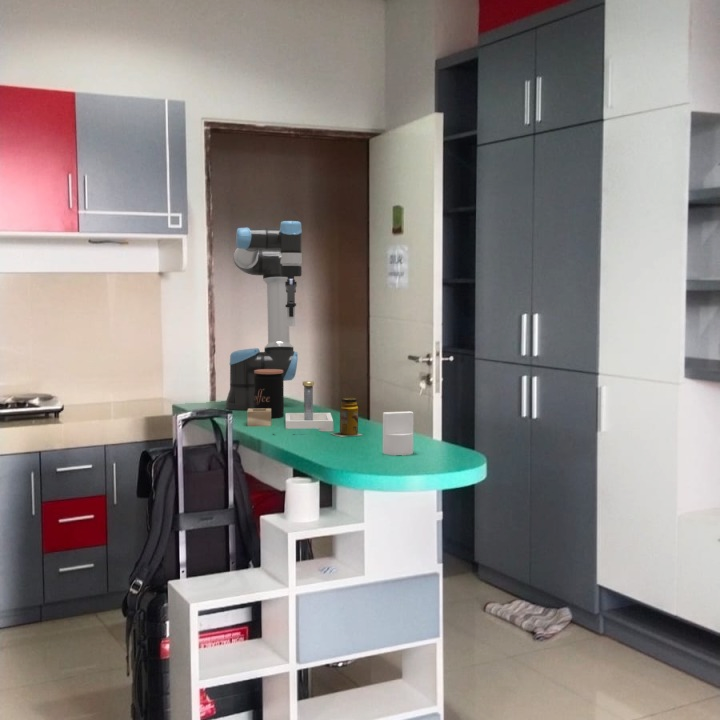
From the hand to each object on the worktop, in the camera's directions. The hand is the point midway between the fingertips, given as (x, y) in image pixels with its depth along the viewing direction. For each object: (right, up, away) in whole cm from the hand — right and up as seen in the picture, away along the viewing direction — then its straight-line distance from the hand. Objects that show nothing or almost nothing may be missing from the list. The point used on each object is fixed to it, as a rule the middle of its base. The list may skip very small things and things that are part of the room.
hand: (290, 325), depth 338 cm
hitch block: (-10, -36, -9) cm, 38 cm away
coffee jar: (-9, -34, +10) cm, 37 cm away
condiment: (+20, -37, -23) cm, 48 cm away
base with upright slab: (+36, -40, -56) cm, 78 cm away
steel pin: (+7, -35, -8) cm, 36 cm away
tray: (+7, -36, -8) cm, 37 cm away
